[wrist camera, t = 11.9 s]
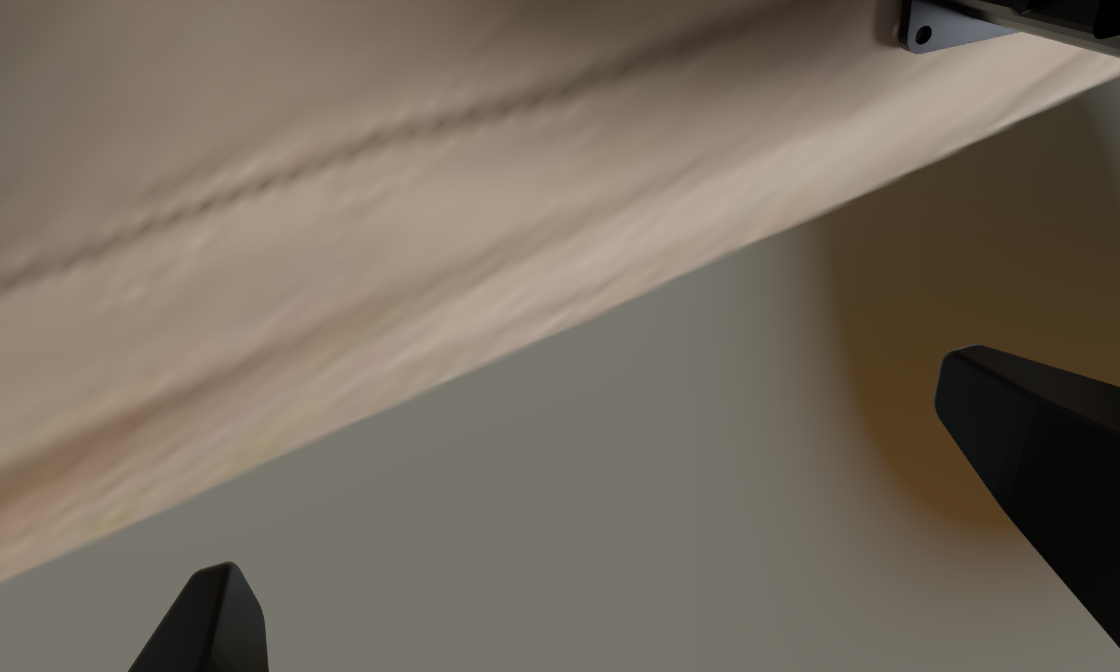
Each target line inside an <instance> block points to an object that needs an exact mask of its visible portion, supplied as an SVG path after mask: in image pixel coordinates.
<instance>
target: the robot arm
mask: <svg viewBox="0 0 1120 672" xmlns="http://www.w3.org/2000/svg"><path fill="white" fill-rule="evenodd" d="M921 27H922V30H923V31H922V34H921V36H920V37H919V38H918V40H915V36H916V33H917V31H918V30H919V29H920V28H921ZM1017 32H1025V33H1029V34H1032V35H1036V36H1040V37H1044V38H1047V39H1051V40H1055V41H1058V42H1062V43H1066V44H1069V45H1073V46H1077V47H1081V48H1084V49H1088V50H1092V51H1095V52H1099V53H1103V54H1107V55H1110V56H1114V57H1118V58H1120V0H903V2H902V10H901V19H900V27H899V44H900V46H901V48H903V49H904V50H906V51H909V52H912V53H915V54H922V53H927V52H931V51H936V50H940V49H945V48H949V47H954V46H958V45H963V44H967V43H972V42H977V41H981V40H986V39H990V38H995V37H999V36H1004V35H1008V34H1013V33H1017ZM934 403H935V409H936V413H937V415H938V417H939V419H940V420H941V422H942V424H943V425H944V426H945V428H946V429H947V431H948V432H949V434H950V435H951V437H952V438H953V439H954V441H955V442H956V443H957V445H958V447H959V448H960V450H961V451H962V452H963V454H964V455H965V457H966V458H967V460H968V461H969V462H970V464H971V465H972V467H973V468H974V470H975V471H976V472H977V474H978V476H979V477H980V478H981V480H982V481H983V483H984V484H985V486H986V487H987V488H988V490H989V491H990V493H991V494H992V496H993V497H994V498H995V500H996V501H997V503H998V504H999V505H1000V507H1001V508H1002V509H1003V511H1004V512H1005V513H1006V514H1007V516H1008V517H1009V518H1010V519H1011V521H1012V522H1013V523H1014V524H1015V526H1017V528H1018V529H1019V530H1020V532H1021V533H1022V534H1023V535H1024V536H1025V537H1026V538H1027V540H1028V541H1029V542H1030V543H1031V545H1032V546H1033V547H1034V548H1035V549H1036V550H1037V552H1038V553H1039V554H1040V555H1041V556H1042V557H1043V559H1044V560H1045V561H1046V562H1047V563H1048V564H1049V566H1050V567H1051V568H1052V569H1053V570H1054V571H1055V573H1056V574H1057V575H1058V576H1059V577H1060V579H1061V580H1062V581H1063V582H1064V583H1065V584H1066V586H1067V587H1068V588H1069V589H1070V590H1071V592H1072V593H1073V594H1074V595H1075V596H1076V597H1077V599H1078V600H1079V601H1080V602H1081V603H1082V604H1083V606H1084V607H1085V608H1086V609H1087V610H1088V611H1089V612H1090V614H1091V615H1092V616H1093V617H1094V618H1095V620H1096V621H1097V622H1098V623H1099V624H1100V626H1101V627H1102V628H1103V629H1104V630H1105V631H1106V632H1107V634H1108V635H1109V636H1110V637H1111V638H1112V640H1113V641H1114V642H1115V643H1116V644H1117V646H1118V647H1119V648H1120V387H1118V386H1115V385H1112V384H1108V383H1105V382H1102V381H1099V380H1095V379H1092V378H1089V377H1085V376H1082V375H1079V374H1075V373H1072V372H1069V371H1066V370H1062V369H1059V368H1055V367H1052V366H1049V365H1046V364H1043V363H1039V362H1036V361H1033V360H1029V359H1026V358H1023V357H1019V356H1016V355H1013V354H1010V353H1006V352H1003V351H999V350H996V349H993V348H990V347H987V346H983V345H979V344H973V345H968V346H965V347H962V348H958V349H955V350H951V351H949V352H947V353H946V354H945V356H944V357H943V358H942V362H941V366H940V372H939V377H938V382H937V387H936V392H935V398H934ZM128 672H269V668H268V656H267V643H266V630H265V621H264V616H263V613H262V609H261V606H260V604H259V602H258V600H257V599H256V597H255V595H254V594H253V591H252V590H251V588H250V586H249V585H248V582H247V581H246V579H245V577H244V575H243V573H242V572H241V570H240V568H239V567H238V566H237V565H236V564H235V563H233V562H224V563H221V564H217V565H214V566H211V567H207V568H204V569H200V570H199V571H197V572H195V573H194V574H193V575H192V576H191V578H190V579H189V581H188V582H187V583H186V585H185V586H184V588H183V589H182V591H181V593H180V594H179V595H178V597H177V598H176V600H175V602H174V603H173V604H172V606H171V607H170V609H169V611H168V612H167V614H166V615H165V616H164V618H163V620H162V621H161V622H160V624H159V625H158V627H157V629H156V630H155V632H154V633H153V634H152V636H151V638H150V639H149V641H148V642H147V643H146V645H145V647H144V648H143V649H142V651H141V653H140V654H139V655H138V657H137V658H136V660H135V661H134V663H133V664H132V666H131V668H130V669H129V670H128Z"/></svg>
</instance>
